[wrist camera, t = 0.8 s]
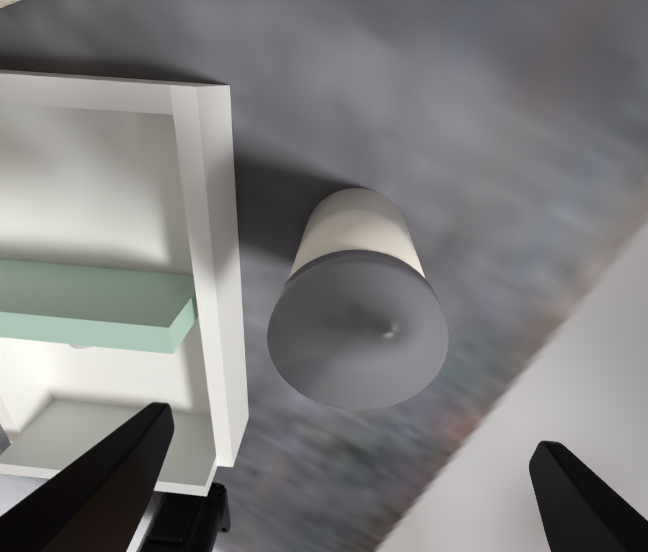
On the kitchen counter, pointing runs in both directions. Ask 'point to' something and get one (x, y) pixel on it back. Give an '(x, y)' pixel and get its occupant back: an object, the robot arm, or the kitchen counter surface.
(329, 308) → the jar
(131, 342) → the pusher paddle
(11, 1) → the condiment
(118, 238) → the white tray
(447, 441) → the kitchen counter surface
